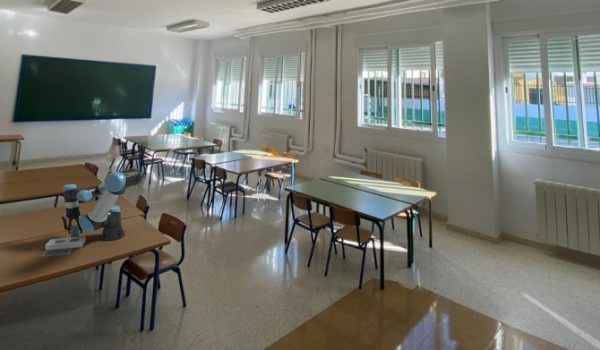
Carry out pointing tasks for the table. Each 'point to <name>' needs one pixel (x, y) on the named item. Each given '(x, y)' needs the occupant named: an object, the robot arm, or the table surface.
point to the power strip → (65, 243)
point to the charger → (74, 231)
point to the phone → (57, 252)
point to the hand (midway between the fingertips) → (76, 237)
